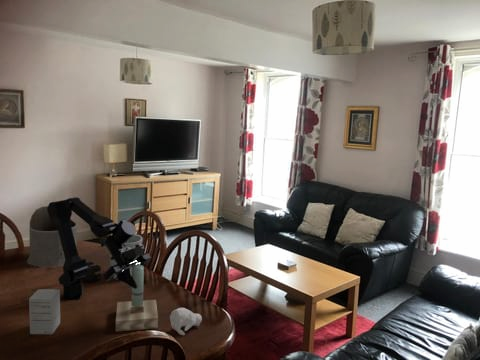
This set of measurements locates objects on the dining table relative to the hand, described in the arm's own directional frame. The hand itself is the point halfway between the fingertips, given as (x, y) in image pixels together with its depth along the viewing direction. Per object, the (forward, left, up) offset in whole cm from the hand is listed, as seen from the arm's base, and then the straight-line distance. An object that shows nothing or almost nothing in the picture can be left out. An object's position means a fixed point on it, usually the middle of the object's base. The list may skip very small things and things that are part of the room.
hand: (140, 285), depth 136 cm
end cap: (-22, +41, -14) cm, 48 cm away
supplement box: (-31, 0, -14) cm, 34 cm away
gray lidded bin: (-39, +65, -14) cm, 77 cm away
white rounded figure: (+16, -8, -14) cm, 23 cm away
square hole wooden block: (-1, +1, -13) cm, 14 cm away
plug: (-1, +1, -7) cm, 7 cm away
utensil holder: (-6, +44, -14) cm, 46 cm away
